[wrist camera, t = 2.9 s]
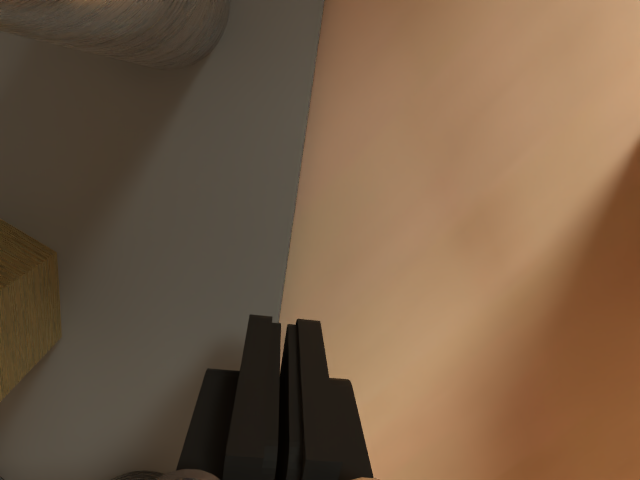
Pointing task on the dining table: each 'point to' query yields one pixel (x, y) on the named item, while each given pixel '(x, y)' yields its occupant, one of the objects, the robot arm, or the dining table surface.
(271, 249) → the mat
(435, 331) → the dining table surface
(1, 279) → the amber perfume bottle
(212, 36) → the silver peg rack
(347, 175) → the dining table surface
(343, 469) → the robot arm
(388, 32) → the dining table surface
